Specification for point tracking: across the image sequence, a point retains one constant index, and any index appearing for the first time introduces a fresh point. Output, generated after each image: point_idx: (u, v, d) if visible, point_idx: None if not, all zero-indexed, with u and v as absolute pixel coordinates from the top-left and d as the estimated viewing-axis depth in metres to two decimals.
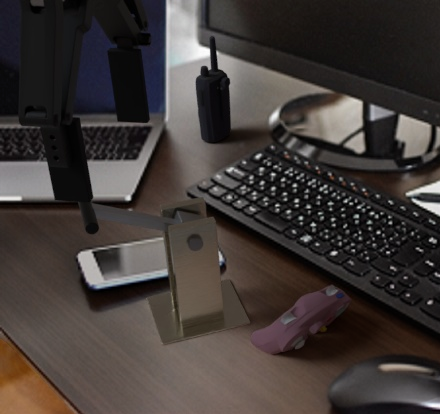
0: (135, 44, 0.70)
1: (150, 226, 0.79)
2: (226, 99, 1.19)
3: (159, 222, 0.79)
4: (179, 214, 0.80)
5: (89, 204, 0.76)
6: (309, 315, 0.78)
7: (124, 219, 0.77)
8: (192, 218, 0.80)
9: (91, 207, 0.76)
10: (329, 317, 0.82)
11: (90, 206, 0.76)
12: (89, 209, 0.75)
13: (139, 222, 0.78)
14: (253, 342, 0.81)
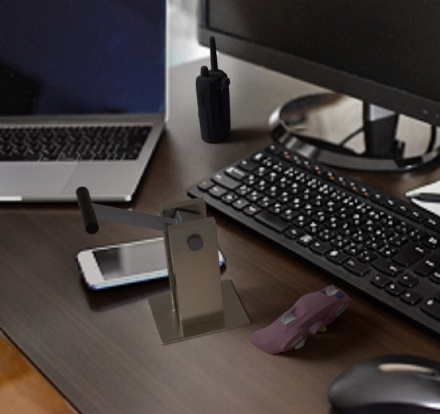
0: None
1: (150, 226, 0.79)
2: (226, 99, 1.19)
3: (159, 222, 0.79)
4: (179, 214, 0.80)
5: (89, 204, 0.76)
6: (309, 315, 0.78)
7: (124, 219, 0.77)
8: (192, 218, 0.80)
9: (91, 207, 0.76)
10: (329, 317, 0.82)
11: (90, 206, 0.76)
12: (89, 209, 0.75)
13: (139, 222, 0.78)
14: (253, 342, 0.81)
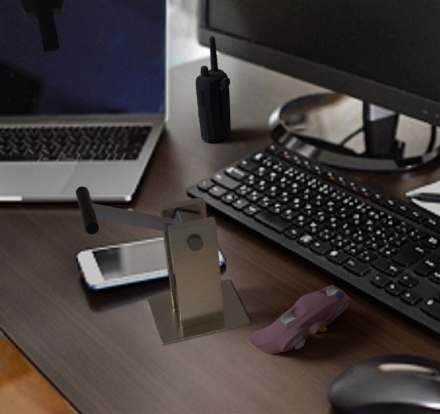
0: None
1: (150, 226, 0.79)
2: (226, 99, 1.19)
3: (159, 222, 0.79)
4: (179, 214, 0.80)
5: (89, 204, 0.76)
6: (309, 315, 0.78)
7: (124, 219, 0.77)
8: (192, 218, 0.80)
9: (91, 207, 0.76)
10: (329, 317, 0.82)
11: (90, 206, 0.76)
12: (89, 209, 0.75)
13: (139, 222, 0.78)
14: (253, 342, 0.81)
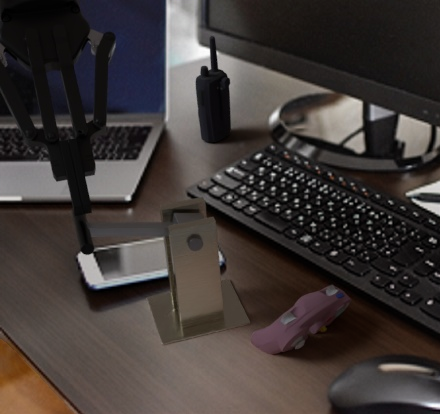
0: (74, 132, 0.77)
1: (149, 234, 0.79)
2: (226, 99, 1.19)
3: (157, 228, 0.79)
4: (175, 217, 0.80)
5: (83, 224, 0.77)
6: (309, 315, 0.78)
7: (121, 232, 0.78)
8: (189, 218, 0.80)
9: (86, 227, 0.76)
10: (329, 317, 0.82)
11: (84, 226, 0.76)
12: (83, 230, 0.76)
13: (137, 232, 0.78)
14: (253, 342, 0.81)
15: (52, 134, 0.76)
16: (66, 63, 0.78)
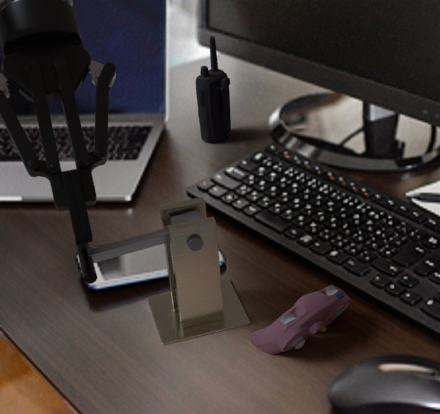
0: (75, 162, 0.79)
1: (150, 245, 0.80)
2: (226, 99, 1.19)
3: (156, 237, 0.80)
4: (172, 221, 0.80)
5: (84, 253, 0.78)
6: (309, 315, 0.78)
7: (122, 251, 0.79)
8: (186, 219, 0.80)
9: (86, 255, 0.78)
10: (329, 317, 0.82)
11: (85, 255, 0.78)
12: (84, 259, 0.77)
13: (138, 246, 0.79)
14: (253, 342, 0.81)
15: (54, 165, 0.78)
16: (68, 94, 0.79)
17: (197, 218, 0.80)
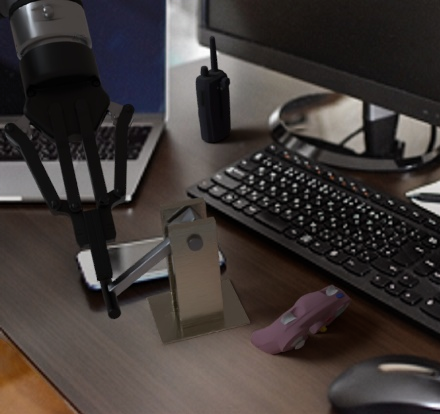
0: (96, 202, 0.81)
1: (159, 258, 0.81)
2: (226, 99, 1.19)
3: (161, 250, 0.80)
4: None
5: (105, 290, 0.81)
6: (309, 315, 0.78)
7: (137, 274, 0.81)
8: (180, 222, 0.80)
9: (107, 291, 0.81)
10: (329, 317, 0.82)
11: (106, 291, 0.81)
12: (106, 297, 0.80)
13: (149, 265, 0.81)
14: (253, 342, 0.81)
15: (76, 205, 0.80)
16: (88, 136, 0.82)
17: (190, 217, 0.80)
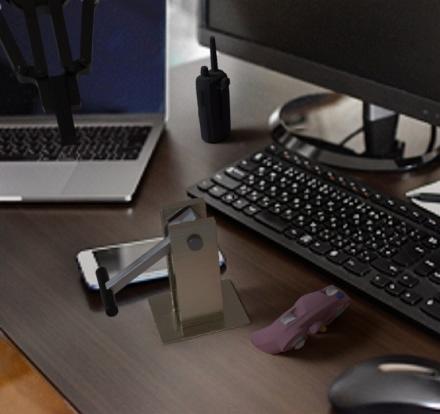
0: (62, 69, 0.84)
1: (158, 257, 0.81)
2: (226, 99, 1.19)
3: (161, 249, 0.80)
4: None
5: (103, 287, 0.81)
6: (309, 315, 0.78)
7: (135, 273, 0.81)
8: (181, 221, 0.80)
9: (105, 289, 0.80)
10: (329, 317, 0.82)
11: (104, 289, 0.80)
12: (103, 294, 0.80)
13: (148, 263, 0.81)
14: (253, 342, 0.81)
15: (42, 70, 0.83)
16: (55, 6, 0.85)
17: (190, 217, 0.80)
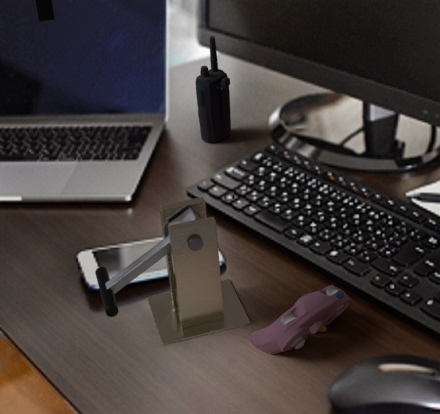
0: None
1: (158, 257, 0.81)
2: (226, 99, 1.19)
3: (161, 249, 0.80)
4: None
5: (103, 287, 0.81)
6: (309, 315, 0.78)
7: (135, 273, 0.81)
8: (181, 221, 0.80)
9: (105, 289, 0.80)
10: (329, 317, 0.82)
11: (104, 289, 0.80)
12: (103, 294, 0.80)
13: (148, 263, 0.81)
14: (253, 342, 0.81)
15: None
16: None
17: (190, 217, 0.80)
